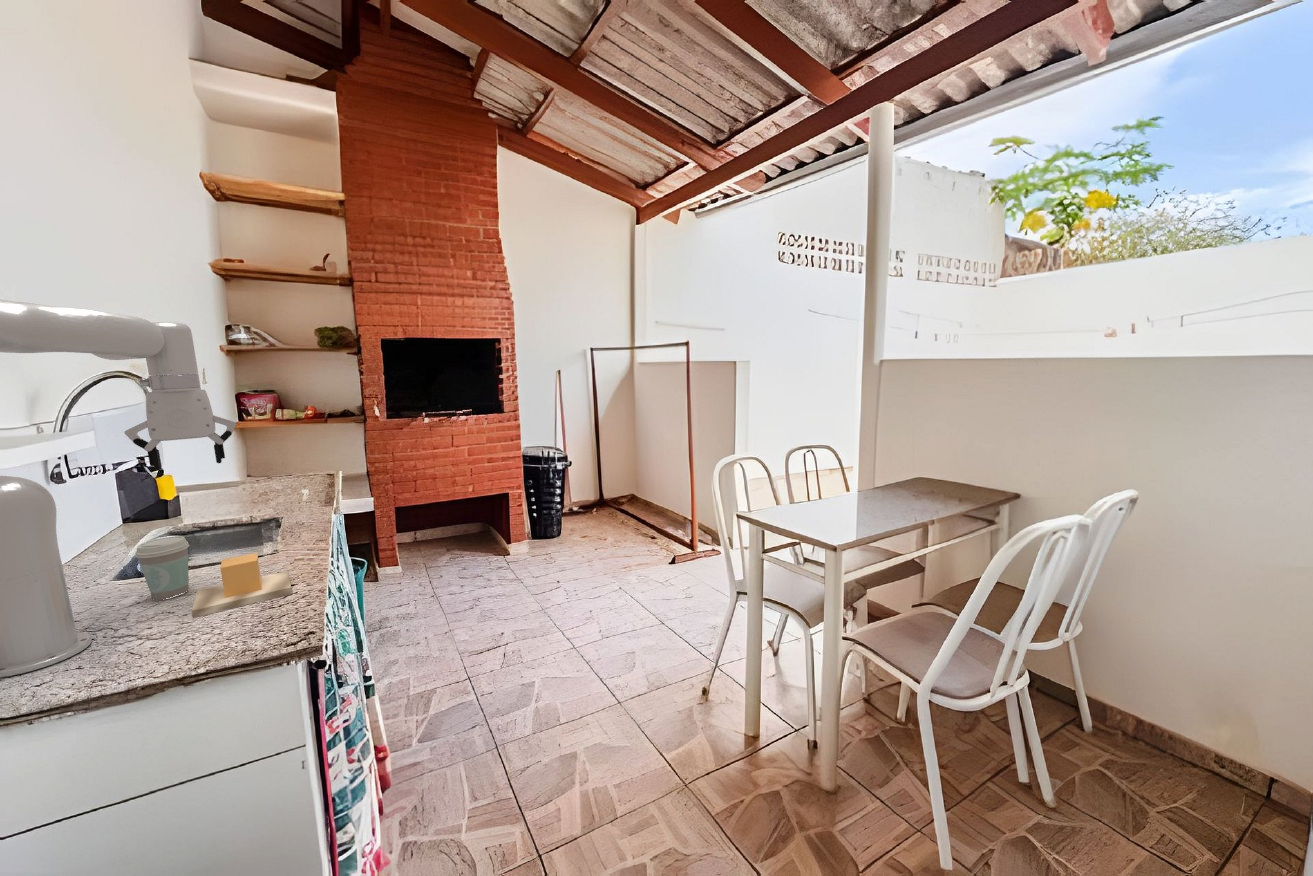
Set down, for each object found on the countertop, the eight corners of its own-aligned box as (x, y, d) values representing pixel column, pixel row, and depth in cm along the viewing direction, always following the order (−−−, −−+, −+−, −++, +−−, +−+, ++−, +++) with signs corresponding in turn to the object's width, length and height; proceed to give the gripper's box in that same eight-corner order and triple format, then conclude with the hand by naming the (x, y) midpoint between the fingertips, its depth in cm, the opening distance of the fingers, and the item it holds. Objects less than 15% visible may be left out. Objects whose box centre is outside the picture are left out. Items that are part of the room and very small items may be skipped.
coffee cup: (136, 599, 112) (126, 545, 110) (186, 583, 119) (177, 533, 118) (154, 607, 108) (143, 551, 106) (204, 590, 115) (195, 538, 114)
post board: (193, 617, 102) (188, 589, 101) (198, 597, 112) (194, 570, 111) (291, 594, 112) (288, 567, 111) (289, 576, 121) (285, 552, 120)
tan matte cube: (225, 598, 107) (220, 568, 106) (226, 588, 112) (222, 559, 111) (261, 589, 111) (257, 560, 110) (261, 580, 116) (257, 552, 115)
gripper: (112, 386, 99) (128, 475, 102) (229, 382, 109) (241, 462, 112) (120, 386, 105) (135, 469, 107) (230, 381, 115) (242, 457, 118)
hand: (189, 465), depth 110 cm, fingers open, 9 cm apart
